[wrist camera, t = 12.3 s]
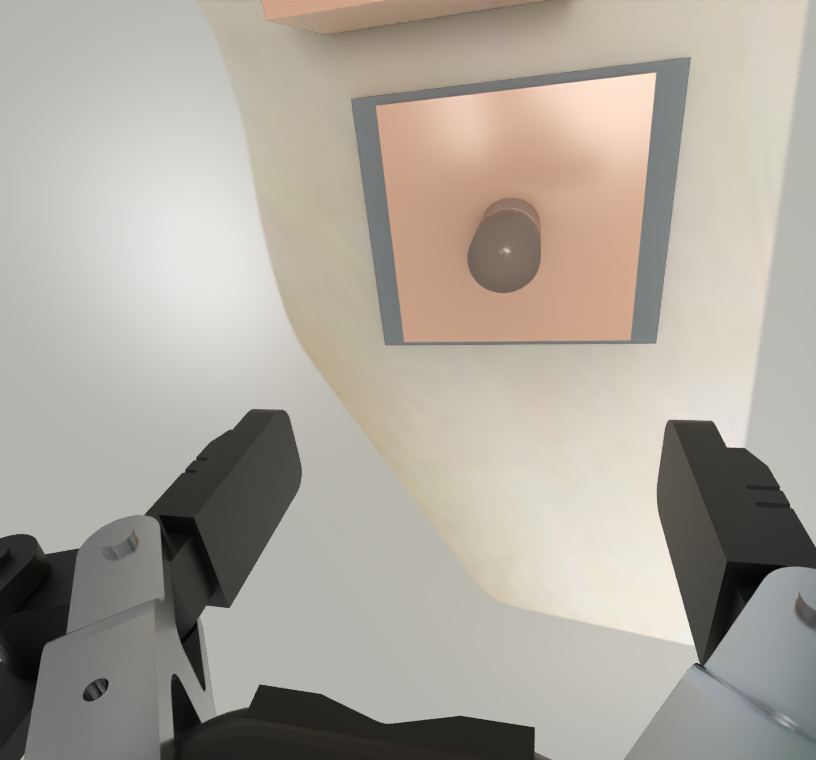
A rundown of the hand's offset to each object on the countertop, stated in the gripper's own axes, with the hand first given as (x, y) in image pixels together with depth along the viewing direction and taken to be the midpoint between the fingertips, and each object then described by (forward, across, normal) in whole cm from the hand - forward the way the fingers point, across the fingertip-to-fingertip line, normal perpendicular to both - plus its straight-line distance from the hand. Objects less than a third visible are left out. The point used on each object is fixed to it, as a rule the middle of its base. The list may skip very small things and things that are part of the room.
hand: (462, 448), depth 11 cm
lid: (+20, 0, 0) cm, 21 cm away
